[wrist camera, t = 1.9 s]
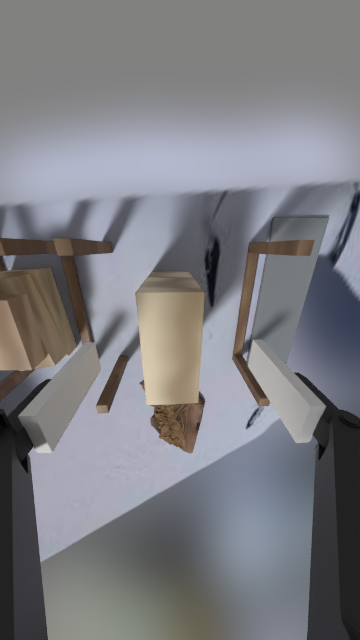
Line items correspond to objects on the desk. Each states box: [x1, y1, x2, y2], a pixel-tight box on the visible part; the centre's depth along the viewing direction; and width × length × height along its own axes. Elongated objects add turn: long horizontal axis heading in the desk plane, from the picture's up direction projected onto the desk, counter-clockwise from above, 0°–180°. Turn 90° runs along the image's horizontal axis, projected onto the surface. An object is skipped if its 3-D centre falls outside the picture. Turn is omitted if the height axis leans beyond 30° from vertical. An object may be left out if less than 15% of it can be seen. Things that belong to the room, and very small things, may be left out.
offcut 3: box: [0, 274, 68, 371], centre depth 21 cm, size 5×11×3 cm, turn 9°
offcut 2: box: [0, 268, 77, 356], centre depth 24 cm, size 5×12×3 cm, turn 4°
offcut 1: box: [0, 293, 46, 370], centre depth 18 cm, size 4×8×2 cm, turn 177°
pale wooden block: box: [135, 272, 205, 405], centre depth 20 cm, size 5×11×12 cm, turn 0°
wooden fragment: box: [140, 380, 204, 453], centre depth 34 cm, size 26×11×1 cm, turn 8°
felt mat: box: [247, 217, 329, 364], centre depth 26 cm, size 7×24×1 cm, turn 0°
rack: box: [0, 238, 315, 413], centre depth 21 cm, size 34×18×10 cm, turn 90°
